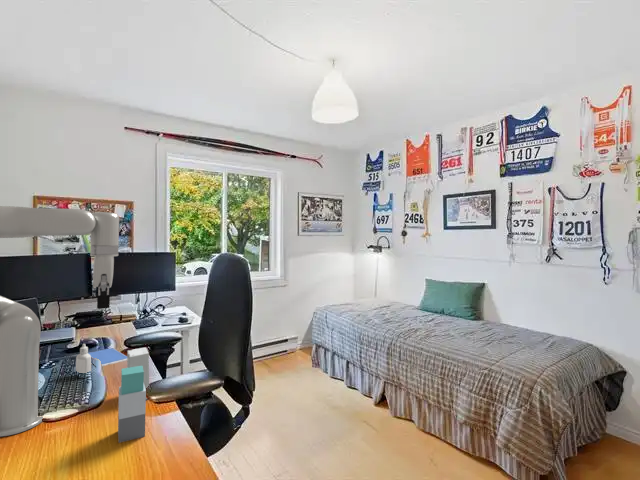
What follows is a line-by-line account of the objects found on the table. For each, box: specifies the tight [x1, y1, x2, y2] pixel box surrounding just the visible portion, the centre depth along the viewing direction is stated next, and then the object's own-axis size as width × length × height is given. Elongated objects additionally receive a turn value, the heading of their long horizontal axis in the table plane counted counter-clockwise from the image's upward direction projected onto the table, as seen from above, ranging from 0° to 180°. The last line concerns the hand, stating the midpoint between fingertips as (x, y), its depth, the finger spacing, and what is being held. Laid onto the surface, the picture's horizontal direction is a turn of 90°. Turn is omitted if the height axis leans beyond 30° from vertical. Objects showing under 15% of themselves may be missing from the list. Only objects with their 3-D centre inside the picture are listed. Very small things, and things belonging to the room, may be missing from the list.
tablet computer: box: [88, 347, 127, 367], centre depth 148 cm, size 19×13×1 cm, turn 50°
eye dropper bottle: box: [75, 343, 92, 373], centre depth 128 cm, size 4×6×12 cm
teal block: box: [120, 366, 144, 395], centre depth 92 cm, size 5×5×5 cm
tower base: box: [117, 408, 146, 444], centre depth 92 cm, size 6×6×6 cm
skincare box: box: [126, 347, 150, 401], centre depth 114 cm, size 8×6×15 cm
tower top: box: [118, 385, 147, 419], centre depth 92 cm, size 6×6×6 cm
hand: (103, 305), depth 110 cm, fingers open, 9 cm apart
